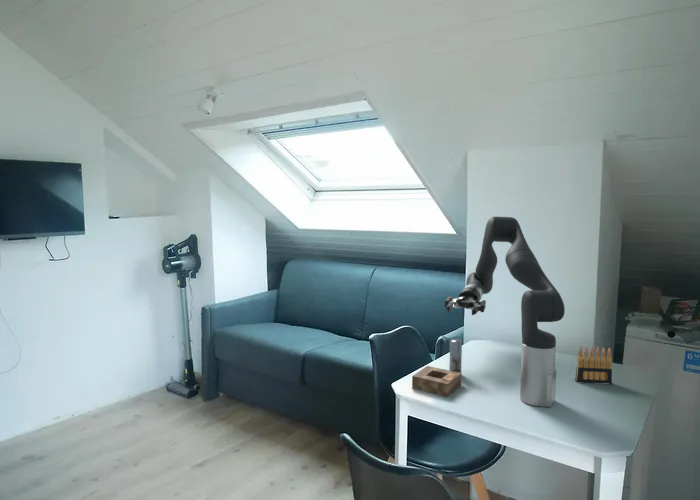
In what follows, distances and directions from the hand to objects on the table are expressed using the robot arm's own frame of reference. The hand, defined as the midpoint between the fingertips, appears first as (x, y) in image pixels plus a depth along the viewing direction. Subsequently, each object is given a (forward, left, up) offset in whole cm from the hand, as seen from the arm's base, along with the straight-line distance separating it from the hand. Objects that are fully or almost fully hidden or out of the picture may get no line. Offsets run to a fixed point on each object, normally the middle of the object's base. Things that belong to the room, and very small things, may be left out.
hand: (460, 310), depth 165 cm
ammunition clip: (-42, -11, -21) cm, 48 cm away
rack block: (-1, +21, -20) cm, 30 cm away
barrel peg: (-2, +8, -21) cm, 22 cm away
